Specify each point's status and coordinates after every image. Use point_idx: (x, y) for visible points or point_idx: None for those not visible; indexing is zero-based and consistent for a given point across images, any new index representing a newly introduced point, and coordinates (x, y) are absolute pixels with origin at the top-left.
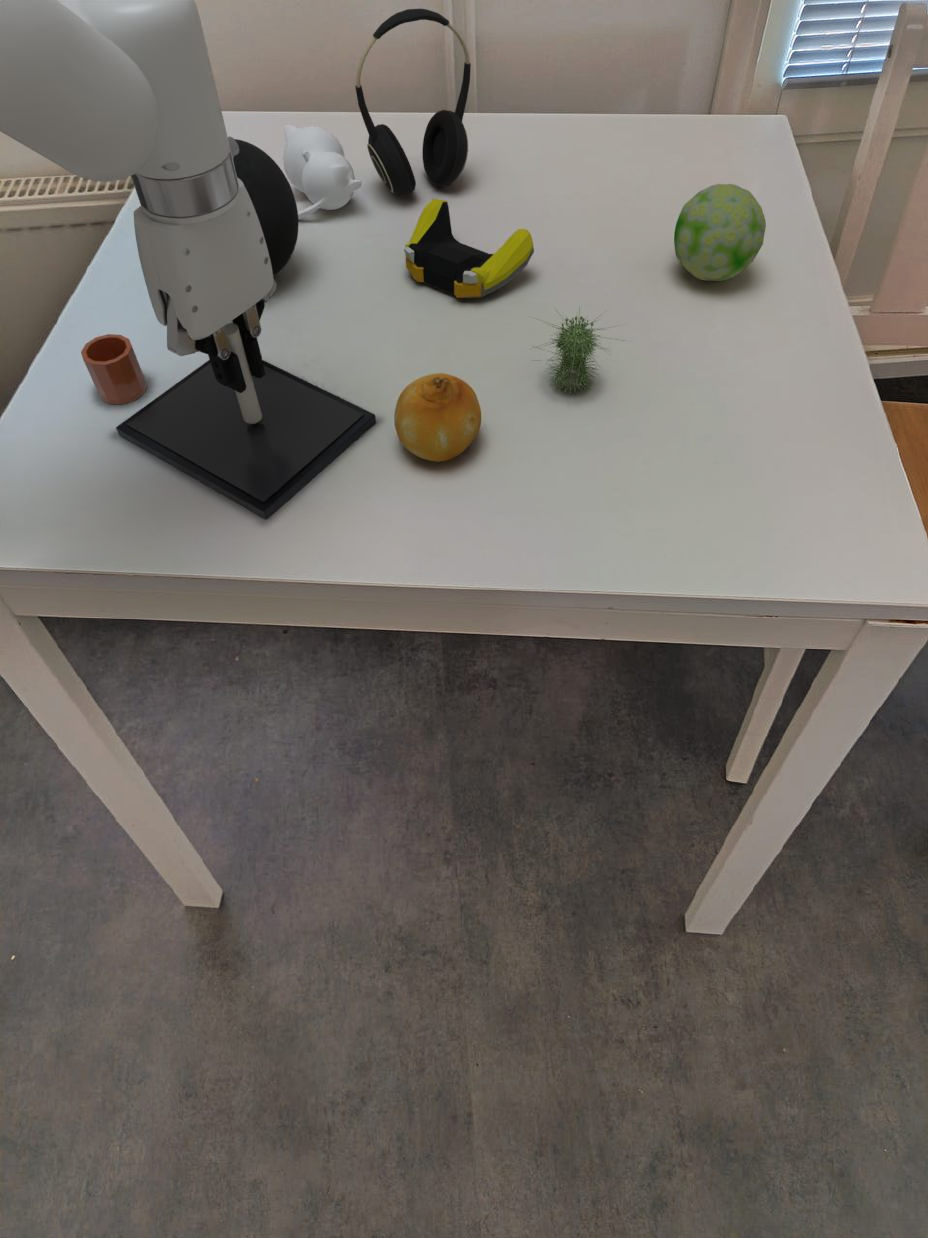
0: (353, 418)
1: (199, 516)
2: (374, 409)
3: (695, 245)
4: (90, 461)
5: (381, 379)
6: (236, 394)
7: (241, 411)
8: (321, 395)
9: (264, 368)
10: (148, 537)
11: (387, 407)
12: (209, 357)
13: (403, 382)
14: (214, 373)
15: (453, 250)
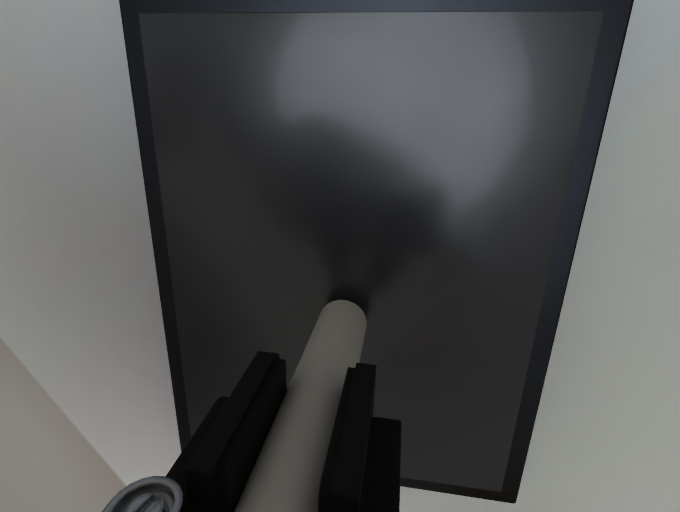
0: (477, 480)
1: (119, 341)
2: (548, 466)
3: None
4: (37, 14)
5: (662, 437)
6: (301, 357)
7: (316, 323)
8: (516, 390)
9: (553, 196)
10: (30, 297)
11: (567, 484)
12: (169, 474)
13: (670, 480)
14: (209, 413)
15: None
